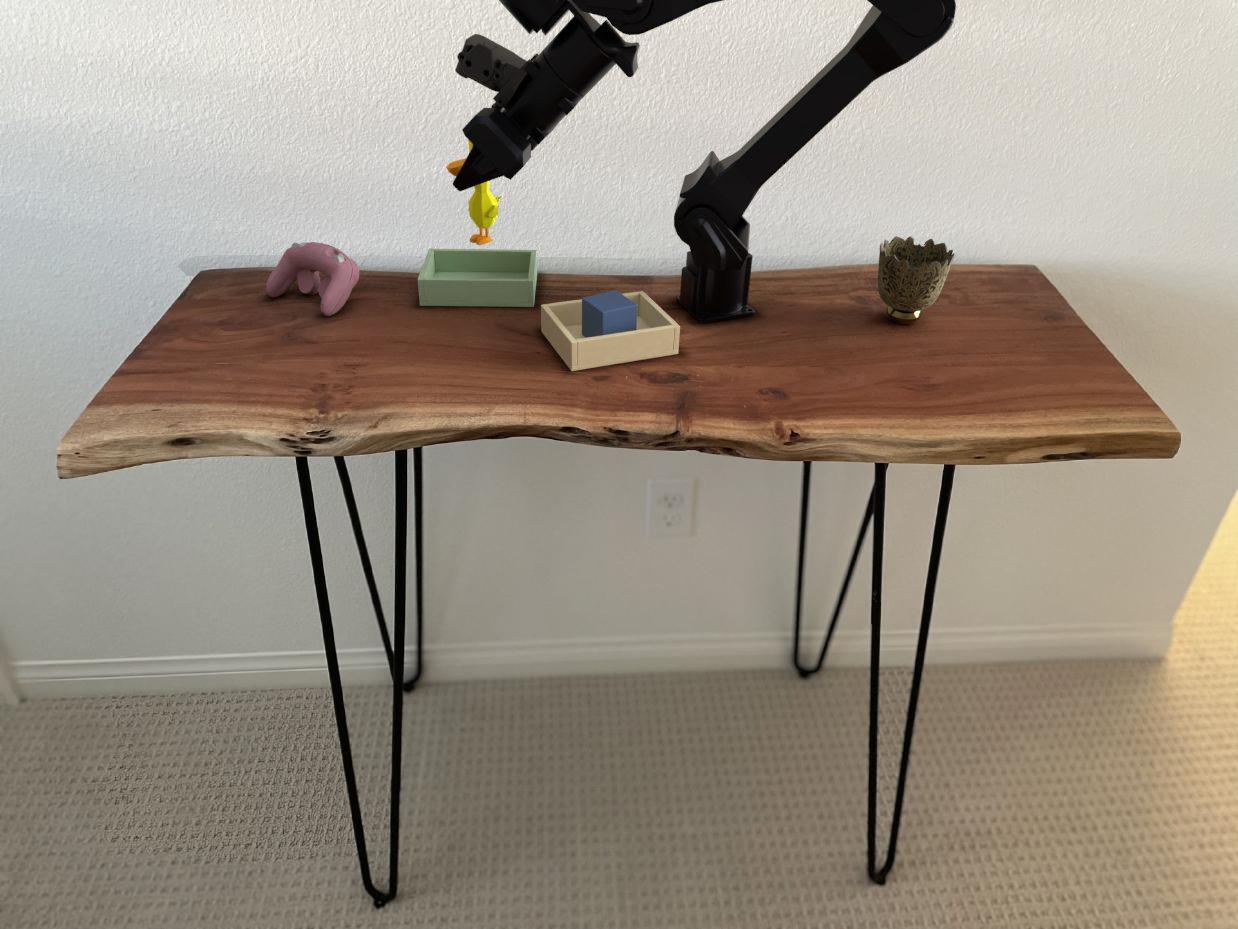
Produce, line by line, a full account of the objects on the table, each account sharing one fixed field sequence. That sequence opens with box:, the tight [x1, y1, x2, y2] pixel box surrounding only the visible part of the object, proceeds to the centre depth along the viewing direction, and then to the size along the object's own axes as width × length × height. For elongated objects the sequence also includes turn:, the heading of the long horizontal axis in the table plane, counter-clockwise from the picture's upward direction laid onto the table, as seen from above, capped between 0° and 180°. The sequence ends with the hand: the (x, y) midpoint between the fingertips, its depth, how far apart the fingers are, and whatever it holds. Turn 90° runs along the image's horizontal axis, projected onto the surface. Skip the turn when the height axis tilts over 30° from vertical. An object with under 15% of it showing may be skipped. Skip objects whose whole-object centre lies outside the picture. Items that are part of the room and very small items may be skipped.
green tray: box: [416, 248, 538, 308], centre depth 103 cm, size 12×9×3 cm
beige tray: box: [540, 290, 681, 372], centre depth 93 cm, size 11×9×3 cm
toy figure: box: [446, 139, 502, 246], centre depth 98 cm, size 7×4×12 cm, turn 137°
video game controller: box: [265, 241, 360, 317], centre depth 99 cm, size 10×5×7 cm, turn 58°
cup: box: [877, 235, 955, 325], centre depth 98 cm, size 8×7×8 cm
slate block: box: [581, 290, 637, 338], centre depth 92 cm, size 4×4×4 cm
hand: (462, 180), depth 97 cm, fingers closed on toy figure, 4 cm apart
